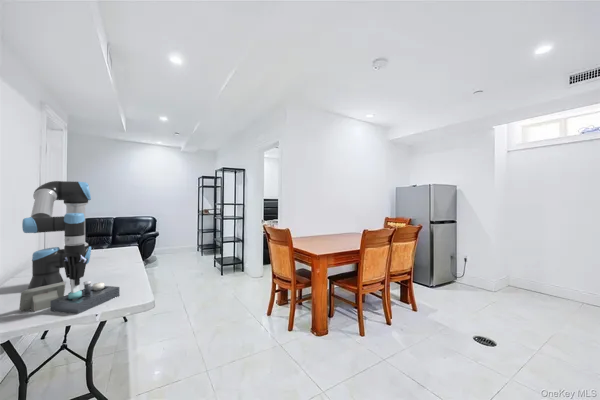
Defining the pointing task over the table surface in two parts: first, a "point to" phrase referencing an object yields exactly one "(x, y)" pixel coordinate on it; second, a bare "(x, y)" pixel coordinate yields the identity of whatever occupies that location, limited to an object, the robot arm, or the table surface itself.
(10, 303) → the table surface
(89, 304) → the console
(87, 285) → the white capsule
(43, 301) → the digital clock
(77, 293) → the knob outer
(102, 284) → the knob inner
